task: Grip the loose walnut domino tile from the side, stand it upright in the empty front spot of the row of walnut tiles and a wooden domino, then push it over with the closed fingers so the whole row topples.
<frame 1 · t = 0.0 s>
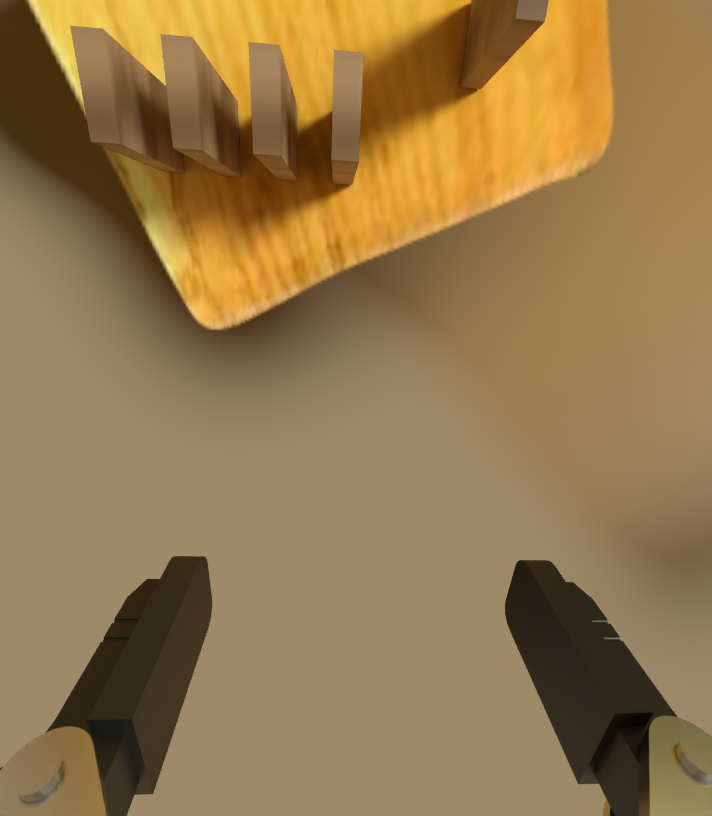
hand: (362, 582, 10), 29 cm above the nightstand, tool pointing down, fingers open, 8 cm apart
loose tile: (476, 46, 29), on the nightstand
tile 5: (169, 134, 30), on the nightstand
tile 2: (344, 148, 31), on the nightstand
wooden domino 4: (228, 139, 30), on the nightstand
tile 3: (287, 143, 31), on the nightstand
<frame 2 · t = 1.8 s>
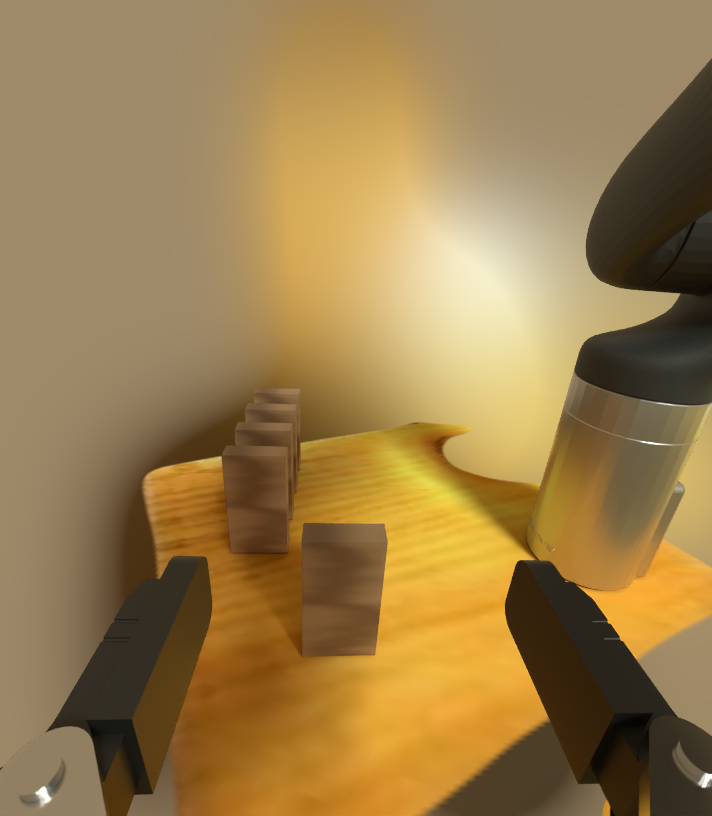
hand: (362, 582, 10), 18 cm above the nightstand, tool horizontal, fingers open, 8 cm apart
loose tile: (338, 644, 27), on the nightstand
tile 5: (279, 466, 48), on the nightstand
tile 2: (260, 546, 36), on the nightstand
wooden domino 4: (274, 488, 44), on the nightstand
tile 3: (268, 514, 40), on the nightstand
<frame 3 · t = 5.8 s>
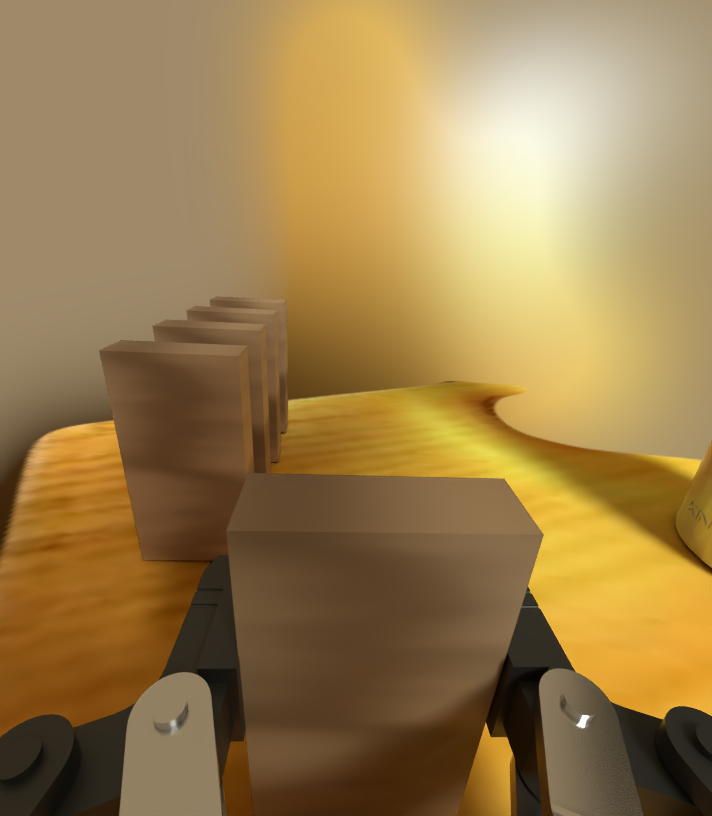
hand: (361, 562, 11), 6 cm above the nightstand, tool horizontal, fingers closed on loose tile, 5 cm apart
loose tile: (353, 799, 11), on the nightstand, touching gripper
tile 5: (255, 427, 31), on the nightstand
tile 2: (203, 548, 19), on the nightstand
wooden domino 4: (243, 455, 27), on the nightstand
tile 3: (226, 493, 23), on the nightstand
when the fingers open (7 cm above the nightstand, at t = 11.4 s): loose tile stays where it is, on the nightstand.
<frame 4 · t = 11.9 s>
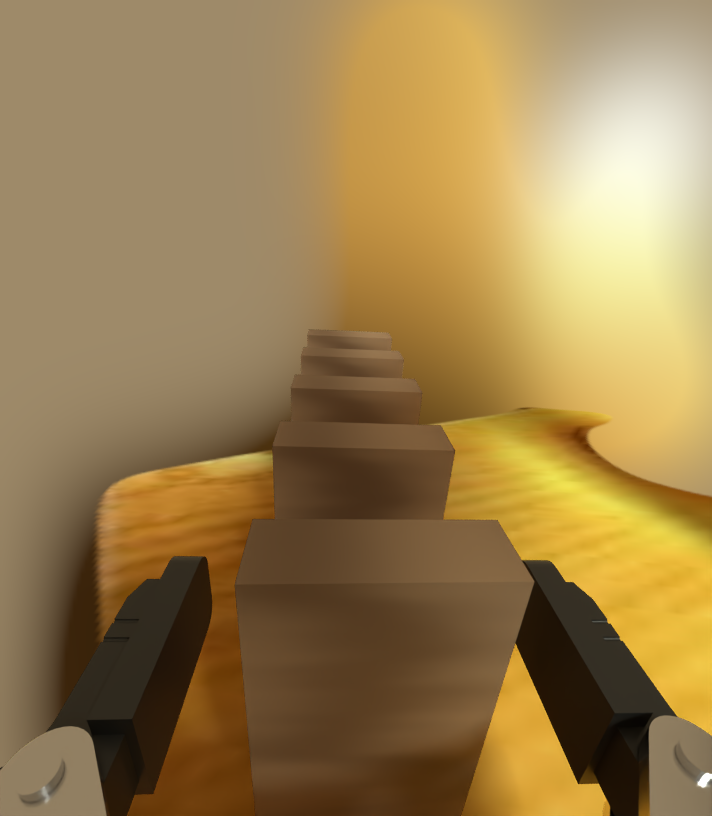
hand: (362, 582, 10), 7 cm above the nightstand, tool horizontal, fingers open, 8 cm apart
tile 5: (342, 473, 28), on the nightstand
tile 2: (347, 662, 15), on the nightstand
wooden domino 4: (343, 514, 24), on the nightstand
tile 3: (345, 572, 19), on the nightstand
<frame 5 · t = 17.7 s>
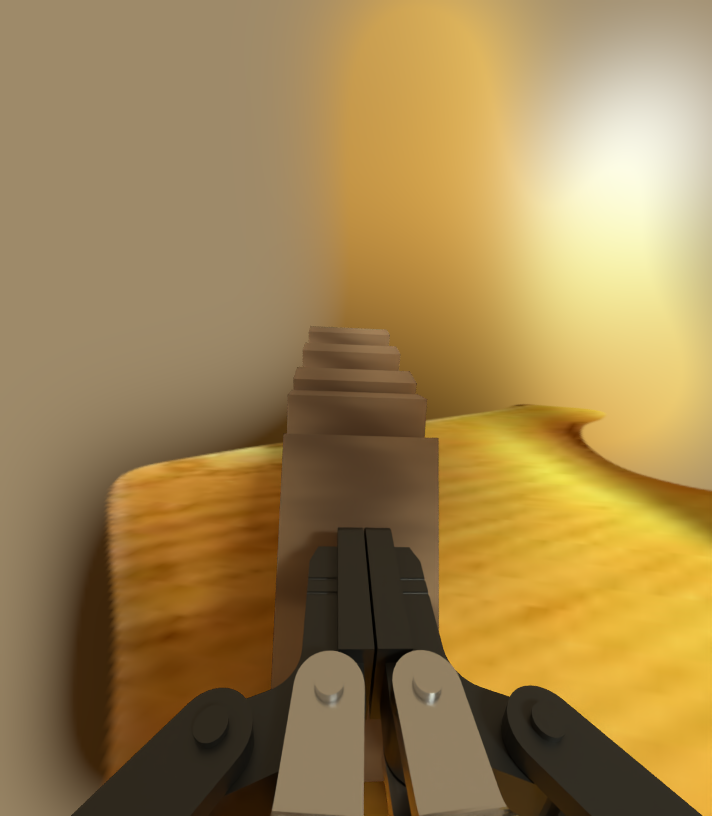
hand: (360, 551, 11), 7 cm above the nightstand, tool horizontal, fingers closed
loose tile: (352, 760, 12), on the nightstand, tilted 30°
tile 5: (342, 465, 29), on the nightstand
tile 2: (346, 632, 16), on the nightstand, tilted 14°
wooden domino 4: (343, 503, 25), on the nightstand
tile 3: (344, 556, 20), on the nightstand
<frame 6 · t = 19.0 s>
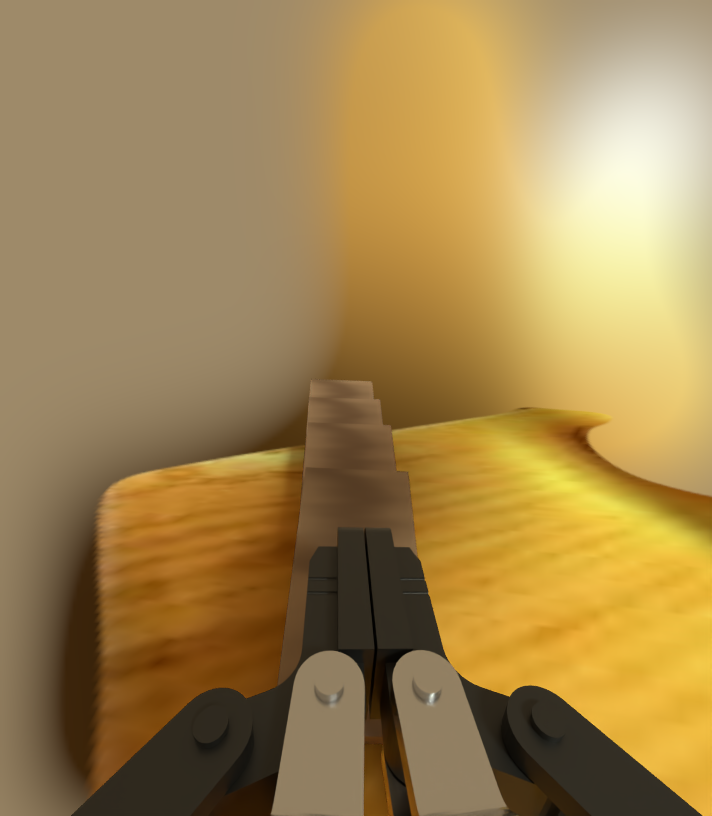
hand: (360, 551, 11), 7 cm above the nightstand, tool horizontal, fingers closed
loose tile: (353, 740, 12), point 1 cm above the nightstand, tilted 70°, touching tile 2
tile 2: (351, 604, 17), point 1 cm above the nightstand, tilted 69°, touching loose tile, tile 3
wooden domino 4: (341, 485, 25), point 1 cm above the nightstand, tilted 72°, touching tile 3, tile 5
tile 3: (346, 535, 21), point 1 cm above the nightstand, tilted 69°, touching tile 2, wooden domino 4
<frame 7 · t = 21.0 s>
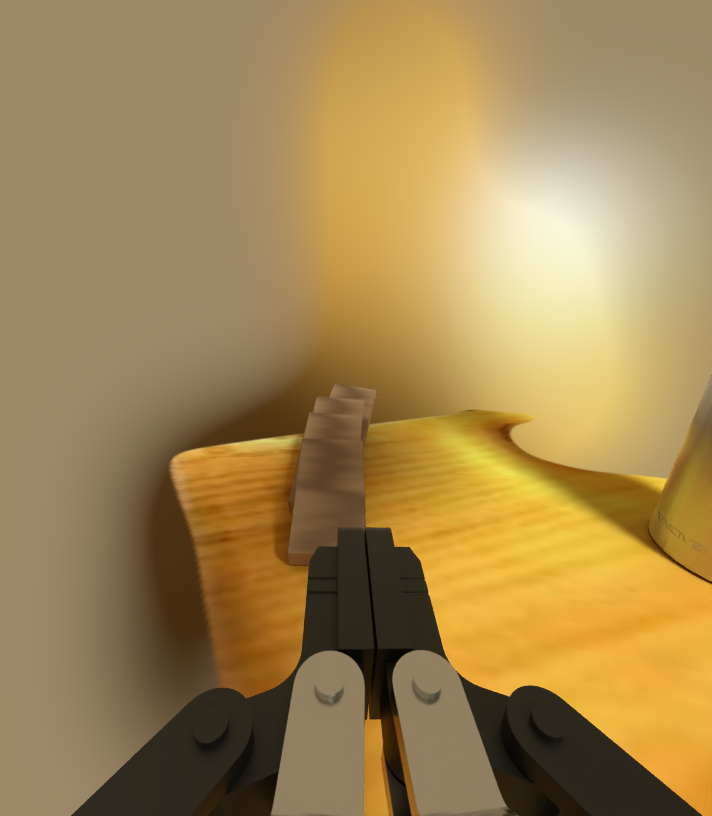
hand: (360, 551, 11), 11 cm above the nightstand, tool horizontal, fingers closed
loose tile: (327, 560, 25), point 1 cm above the nightstand, tilted 70°, touching tile 2
tile 2: (321, 510, 30), point 1 cm above the nightstand, tilted 69°, touching loose tile, tile 3
wooden domino 4: (335, 452, 39), point 1 cm above the nightstand, tilted 72°, touching tile 3, tile 5
tile 3: (327, 479, 34), point 1 cm above the nightstand, tilted 69°, touching tile 2, wooden domino 4
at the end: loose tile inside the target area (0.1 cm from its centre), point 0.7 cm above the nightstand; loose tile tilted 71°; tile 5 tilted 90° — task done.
